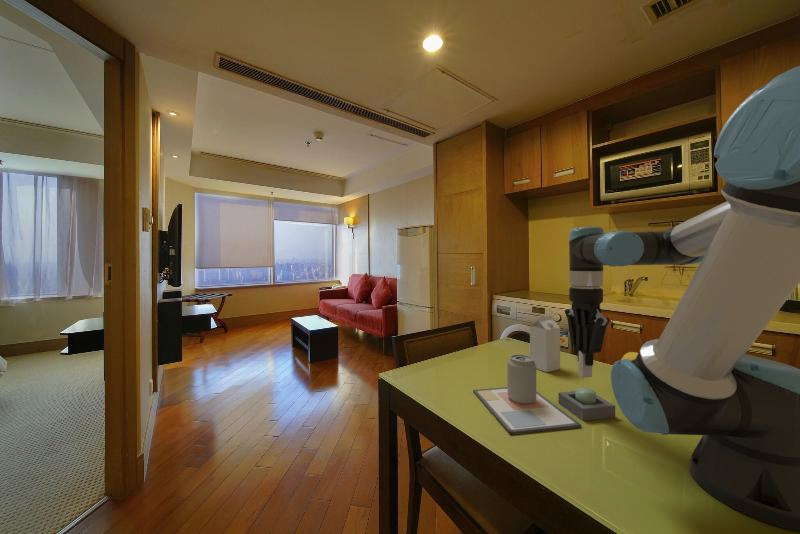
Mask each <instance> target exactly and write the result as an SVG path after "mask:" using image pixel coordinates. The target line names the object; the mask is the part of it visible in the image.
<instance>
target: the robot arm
mask: <svg viewBox="0 0 800 534" xmlns="http://www.w3.org/2000/svg"><path fill="white" fill-rule="evenodd" d="M713 152H714V153H713V156H714V157H715V158H716V159H718V160H717V161H716V162H715V163H714V167H715V169H716V172H717V173H718V175H719V176H720V177H721V179H722V180H723V181H725V183H724V185H723V186H722V188H721V191H720V192H721V194H722V196H723V197H724V198H725V200H726V201H725V202H722V203H720V204H718V205H716V206H714V207H712V208H710V209H707V210H706V211H704V212H702V213H699V214H698V215H696V216H693V217H691V218H689V219H687V220H685V221H683V222H681V223H679V224H677V225H675V226H673V227H671V228H669V229H665V230H659V231H657V230H655V231H654V230H653V231H652V230H651V231H629V230H612V231H608V232H604V229H603V227H601V226H585V227H584V226H582V227H575V228H572V229H571V230H570V232H569V240H568V247H569V248H568V249H569V250H568V251H569V252H568V253H569V254H568V255H569V261H568V263H569V264H568V265H569V267H568V268H569V271H568V273H569V274H568V284H569V286H570V287H569V288H568V294H569V295H568V299H569V301H570V302H572V303H571V307H570V308H569V309H564V314H565V316H566V320H567V325H568V333H569V337H570V339H569V340H570V344H571V346H572V347H575V349H576V350H577V362H578V376H579V377H581V378H583V379H584V378H592V377H593V366H594V355H595V354H598V353H602V352H601V351H602V348H603V344H604V339H605V334H606V330H607V327H608V325H609V323H610V322H611V319H610V318H609V317H605V316H604V315H603V314H602V309H601V304H602V303H603V302H604V289H603V288H601V287H603V286H604V266H609V267H627V266H662V265H663V266H666V265H667V266H672V265H673V266H686V265H695V264H699V265H698V266H697V269H696V270H695V273H694V274H693V276H692V278H691V279H690V281H689V283H688V285H687V286H686V289H685V290H684V292H683V294H682V296H681V298H680V300H679V302H678V304H676V308H675V309H674V311H673V313H672V315H671V317H670V318H669V321H668V322H667V324H666V326H665V327H664V329H663V331H662V332H661V335H660V336H659V338H656V339H650V340H648V341H646V342H644V344H642V346H641V347H640V349H639V350H638V352H637V353H638V355H637V357H636V358H635V359H634V360H628V359H623V360H621V359H620V360H617V361H615V362H614V363H613V364H612V367H611V371H610V383H611V388H612V392H613V396H614V397H615V398H614V399H615V400H616V402H617V405H618V406H619V409H620V411H621V413H622V414H623V415H624V416H625V418H626V419H627V421H628V422H630V423H631V425H632V426H633V427H635V428H637V429H639V430H640V431H642V432H645V433H650V434H660V435H663V436H667V435H678V436H679V435H680V436H681V435H683V436H684V435H685V436H688V435H689V436H690V435H691V436H701V438H700V439H699V441H698V443H697V444H696V446H695V447H694V450H693V451H692V453H691V455H690V459H689V472H690V475H691V477H692V479H693V480H694V481H695V482H696V483H697V485H698V486H700V487H701V488H702V489H703V491H706V492H707V494H709V495H711V496H713V498H715V499H717V500H718V501H720V502H722V503H723V504H725V505H727V506H729V507H730V508H732V509H734V510H736V511H739V512H740V513H742V514H745V515H746V516H748V517H751V518H753V519H756V520H758V521H762V522H764V523H767V524H770V525H772V526H775V527H779V528H783V529H786V530H791V531H796V532H800V368H797V367H795V366H792V365H789V364H786V363H783V362H778V361H776V360H771V359H768V358H764V357H759V356H755V355H751V354H748V353H747V352H748V351H749V349H750V348H751V347H752V345H753V344H754V343H755V341H756V340H757V339H758V338H759V337H760V336H761V334H762V332H763V331H764V330H765V329H766V327H767V326H768V325H769V324H770V322H771V321H772V320H773V319H774V317H775V316H776V315H777V313H778V312H779V311H780V309H781V308H782V307H783V305H785V303H786V301H787V300H788V299H789V298H790V297H791V295H792V294H793V292H795V290H796V289H797V287H798V286H799V285H800V65H798V66H796V67H794V68H790V69H789V70H787V71H785V72H783V73H780V74H778V75H777V76H775V77H774V78H772V79H771V80H770V81H769V82H768V83H767V84H765V85H763V86H761V87H759V88H757V89H756V90H754V92H752V93H751V94H750V95H749V96H748V97H746V99H745V100H743V102H741V103H740V104H739V106H737V107H736V109H735V110H734V111H733V113H731V114H730V116H729V118H728V119H727V121H726V122H725V123H724V125H723V126H722V129H721V130H720V132H719V134H718V136H717V140H716V143H715V145H714V151H713ZM746 353H747V354H746Z"/></svg>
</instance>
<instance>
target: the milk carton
mask: <svg viewBox="0 0 800 534" xmlns="http://www.w3.org/2000/svg"><path fill="white" fill-rule="evenodd" d="M552 317H553V315H552V314H549V315H543V316H542V315H541V316H537V320H536V321H534V322H533V323H532V324H531V325H529V356H530V357H532V358H533V359H534V360H533V361H534V362H535V363H536V370H540V371H543V372H545V373H550V372H554V371H557V370H560V369H561V327H560V326H559V325H558V323H556V321H555V319H553V318H552Z"/></svg>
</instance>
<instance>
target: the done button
mask: <svg viewBox="0 0 800 534" xmlns="http://www.w3.org/2000/svg"><path fill="white" fill-rule="evenodd" d="M574 391H575V400H576V401H578V402H579V403H581V404H583V405H593V404H596V395H597V393H596V391H595V390H593V389H591V388H588V387H576V388H575V390H574Z"/></svg>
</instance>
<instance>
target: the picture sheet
mask: <svg viewBox="0 0 800 534" xmlns="http://www.w3.org/2000/svg"><path fill="white" fill-rule="evenodd" d="M472 390H473V394H474V395H475V396H476V397H477V398H478V400H479V401H480V402H481V403H482V404H483V406H484V407H485V408H486V409H487V410H488V411H489V412H490V413H491V415H492V416H493V417H494V418H495V420H496V421H498V423H499V424H500V425H501V427H503V429H504V430H505V431H506V432H507V433H508V434H509V436H512V435H513V436H514V435H525V434H532V433H542V432H552V431H561V430H562V431H563V430H571V429H578V428H579V429H580V428H582V424H581V423H580V422H579V421H577V420H576V419H574V418H573V417H571V416H570V415H569V414H568V413H566V412H565V411H564V410H562V409H561V408H559V407H558V406H557V405H556V404H554V403H553V402H552V401H550V400H549V399H547V398H546V397H545V396H544V395H542V394H541V393H539V391H537V390H536V401H534V402H533V403H531V404H519V403H516V402H514V401H512V400H511V399H510V398H509V396H508V391H507V386H503V387H494V388H493V387H492V388H491V387H490V388H480V389H472Z"/></svg>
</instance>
